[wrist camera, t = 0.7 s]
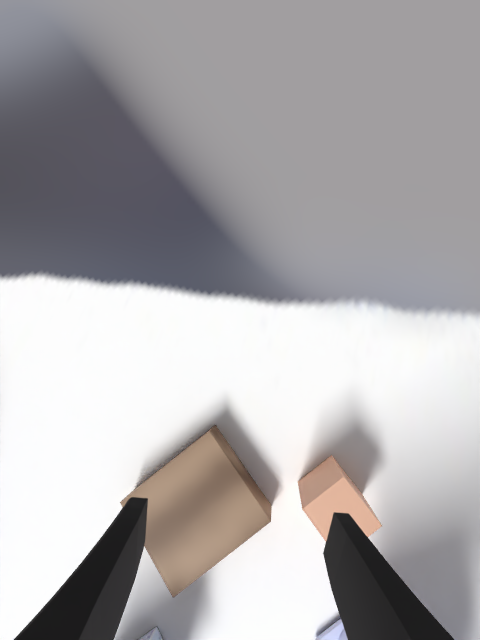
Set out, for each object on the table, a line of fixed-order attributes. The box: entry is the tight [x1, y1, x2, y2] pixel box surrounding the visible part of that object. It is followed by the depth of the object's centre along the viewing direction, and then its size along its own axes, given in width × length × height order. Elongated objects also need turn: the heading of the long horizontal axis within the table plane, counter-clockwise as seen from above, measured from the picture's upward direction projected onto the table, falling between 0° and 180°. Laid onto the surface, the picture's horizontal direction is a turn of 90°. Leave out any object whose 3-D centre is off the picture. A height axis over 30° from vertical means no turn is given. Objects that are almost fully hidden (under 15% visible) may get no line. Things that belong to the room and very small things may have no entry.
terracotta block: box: [298, 455, 382, 541], centre depth 23 cm, size 4×4×5 cm
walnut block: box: [120, 425, 271, 598], centre depth 26 cm, size 10×12×3 cm
